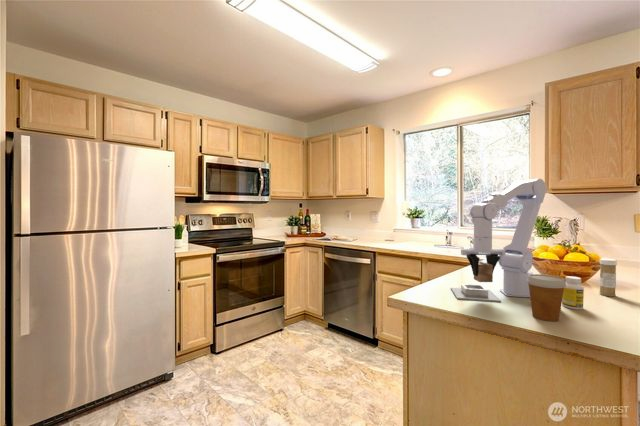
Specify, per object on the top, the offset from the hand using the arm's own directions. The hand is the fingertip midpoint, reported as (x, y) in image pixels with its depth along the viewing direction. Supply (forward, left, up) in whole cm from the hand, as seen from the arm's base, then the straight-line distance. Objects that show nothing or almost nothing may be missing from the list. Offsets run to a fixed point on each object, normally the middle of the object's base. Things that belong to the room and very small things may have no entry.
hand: (482, 275), depth 109 cm
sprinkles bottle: (-46, -17, -9) cm, 50 cm away
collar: (+2, -5, -9) cm, 10 cm away
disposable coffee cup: (-13, +15, -9) cm, 22 cm away
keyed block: (0, 0, -2) cm, 2 cm away
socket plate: (+2, -5, -9) cm, 10 cm away
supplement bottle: (-26, +2, -9) cm, 28 cm away
